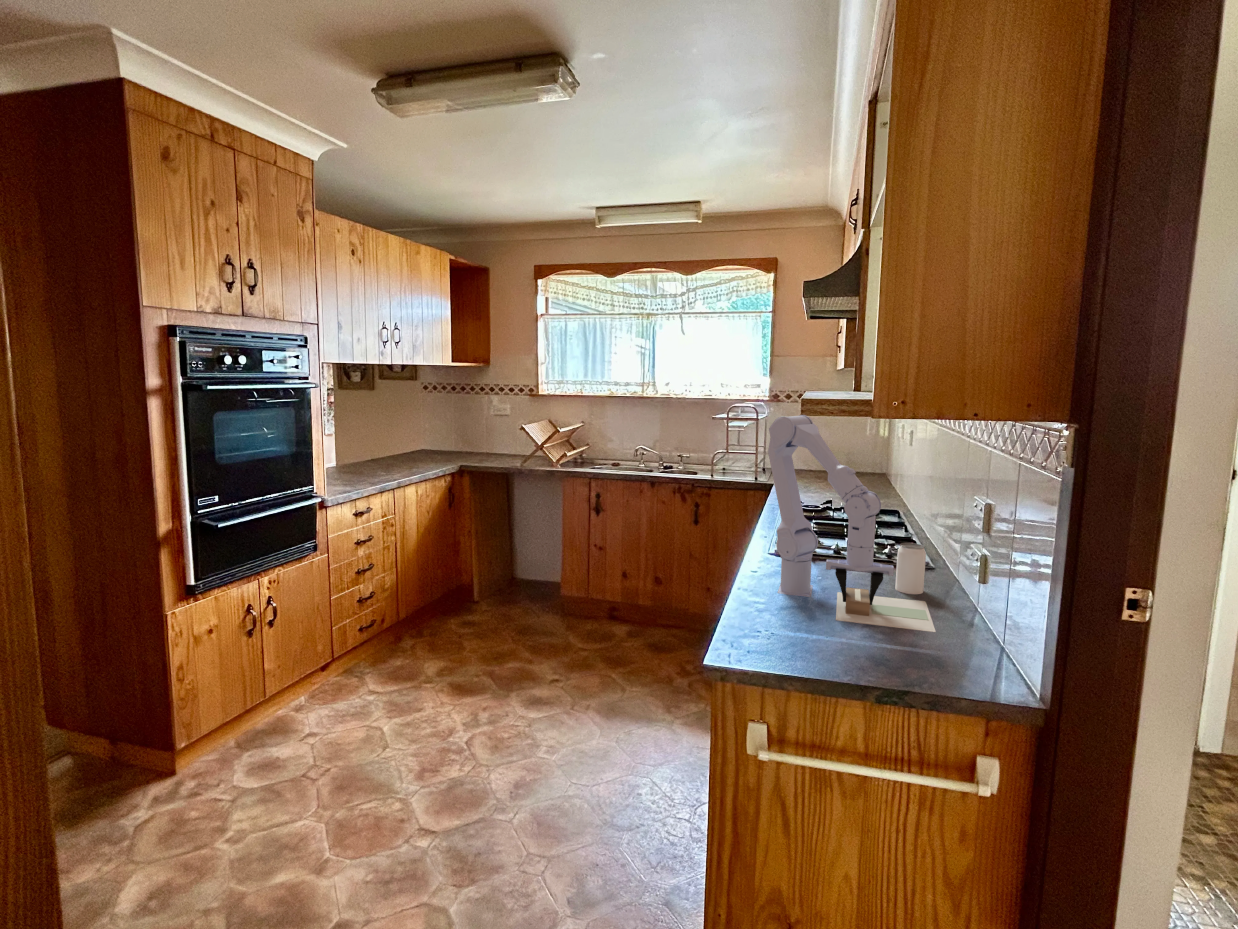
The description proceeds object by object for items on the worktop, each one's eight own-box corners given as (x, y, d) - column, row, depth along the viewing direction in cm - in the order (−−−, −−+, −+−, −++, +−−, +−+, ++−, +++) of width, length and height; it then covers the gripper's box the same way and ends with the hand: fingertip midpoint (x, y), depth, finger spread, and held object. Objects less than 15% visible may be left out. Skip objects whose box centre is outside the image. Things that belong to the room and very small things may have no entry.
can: (925, 597, 163) (929, 549, 161) (897, 595, 164) (901, 548, 162) (919, 589, 169) (922, 543, 167) (892, 587, 170) (895, 541, 168)
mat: (837, 594, 164) (837, 591, 164) (925, 603, 158) (925, 601, 158) (835, 622, 146) (835, 619, 145) (935, 634, 139) (935, 631, 139)
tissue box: (845, 599, 159) (846, 586, 158) (867, 601, 157) (868, 589, 157) (845, 613, 150) (846, 600, 149) (869, 616, 148) (869, 602, 147)
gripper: (826, 546, 150) (823, 603, 152) (896, 552, 145) (892, 611, 147) (827, 539, 157) (825, 594, 158) (894, 544, 152) (890, 601, 154)
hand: (857, 602), depth 153 cm, fingers closed on tissue box, 5 cm apart
